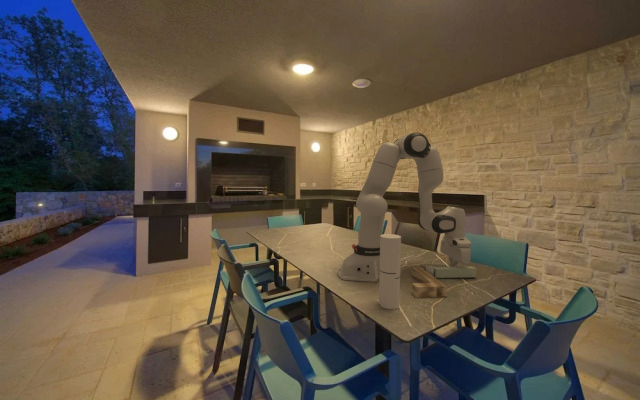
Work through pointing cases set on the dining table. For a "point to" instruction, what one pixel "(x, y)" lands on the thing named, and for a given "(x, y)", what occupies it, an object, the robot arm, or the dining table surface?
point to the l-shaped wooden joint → (426, 284)
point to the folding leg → (451, 271)
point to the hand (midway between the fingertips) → (453, 266)
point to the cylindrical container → (390, 271)
